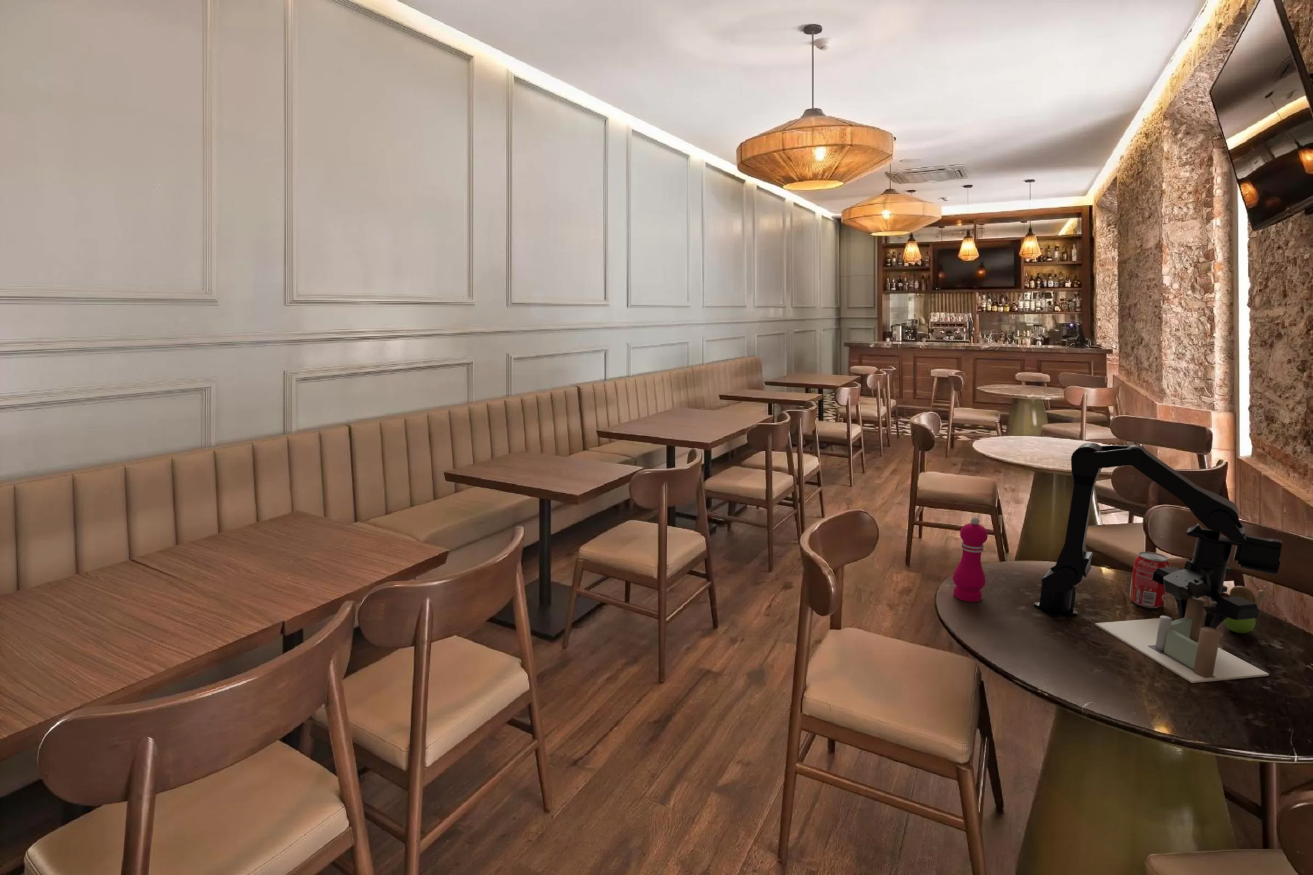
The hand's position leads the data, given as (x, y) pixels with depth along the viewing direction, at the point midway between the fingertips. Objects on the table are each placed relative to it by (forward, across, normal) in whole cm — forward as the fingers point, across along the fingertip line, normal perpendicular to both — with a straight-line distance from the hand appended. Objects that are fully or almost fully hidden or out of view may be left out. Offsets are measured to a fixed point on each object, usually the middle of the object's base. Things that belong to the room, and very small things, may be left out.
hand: (1194, 629), depth 146 cm
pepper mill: (+5, -30, -32) cm, 44 cm away
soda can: (+4, -18, +8) cm, 20 cm away
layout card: (+3, +1, -5) cm, 6 cm away
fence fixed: (+3, +6, -9) cm, 12 cm away
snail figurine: (+4, -2, +15) cm, 16 cm away
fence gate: (+3, 0, -3) cm, 4 cm away
